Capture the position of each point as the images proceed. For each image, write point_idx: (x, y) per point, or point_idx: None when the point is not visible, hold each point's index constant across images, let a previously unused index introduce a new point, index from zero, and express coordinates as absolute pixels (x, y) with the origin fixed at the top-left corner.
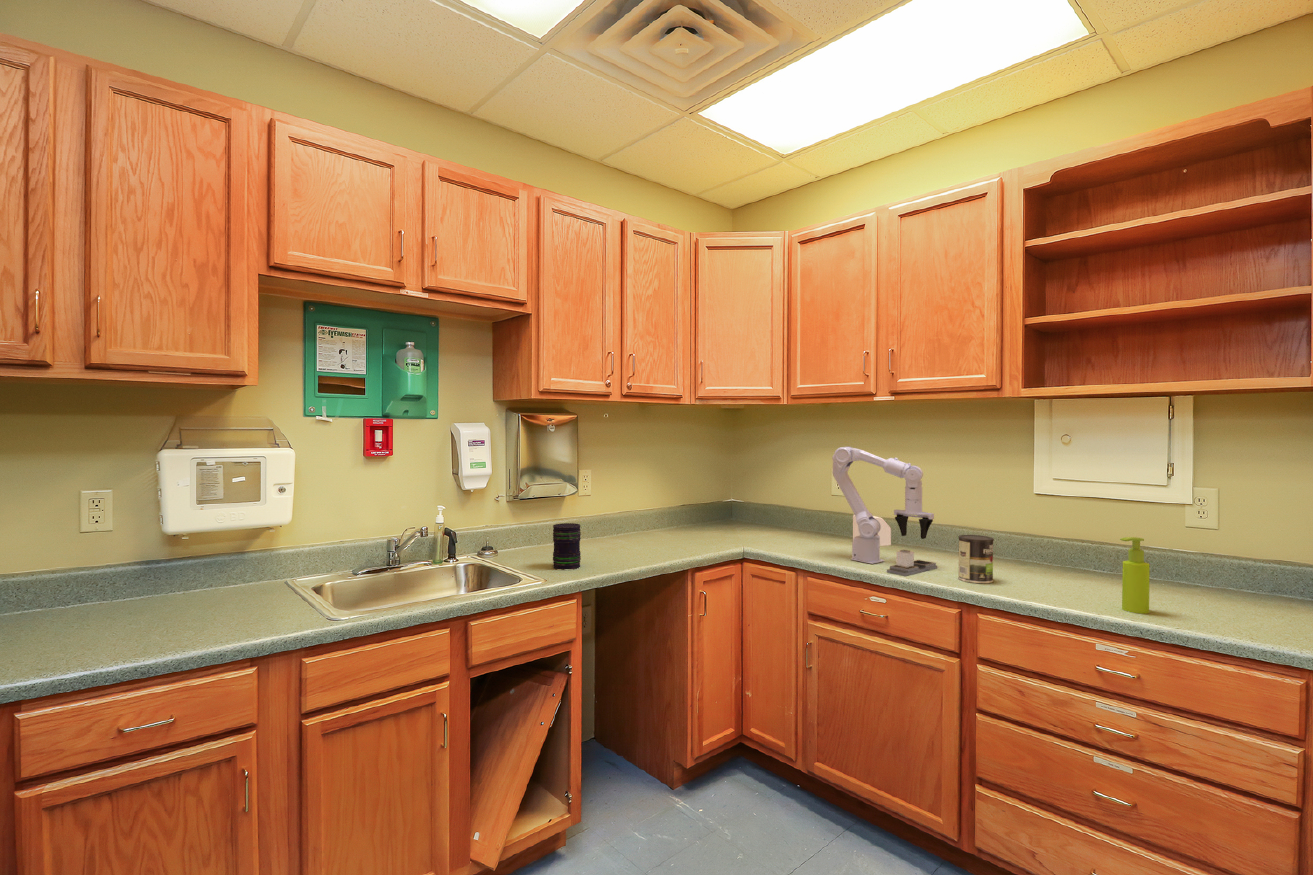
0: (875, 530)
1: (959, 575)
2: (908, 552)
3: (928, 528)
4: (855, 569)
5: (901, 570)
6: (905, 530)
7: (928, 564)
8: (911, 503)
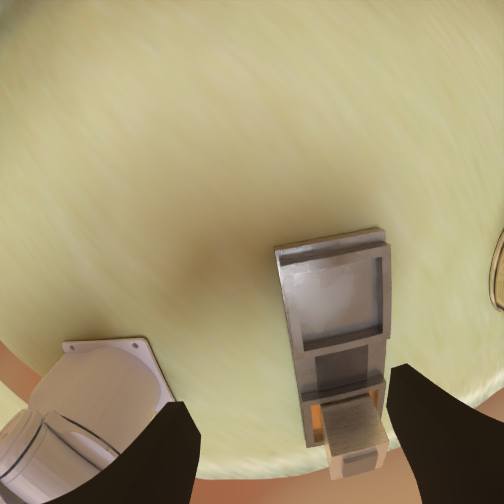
0: None
1: (502, 312)
2: (378, 459)
3: (481, 417)
4: (227, 469)
5: None
6: (172, 447)
7: (388, 311)
8: None
